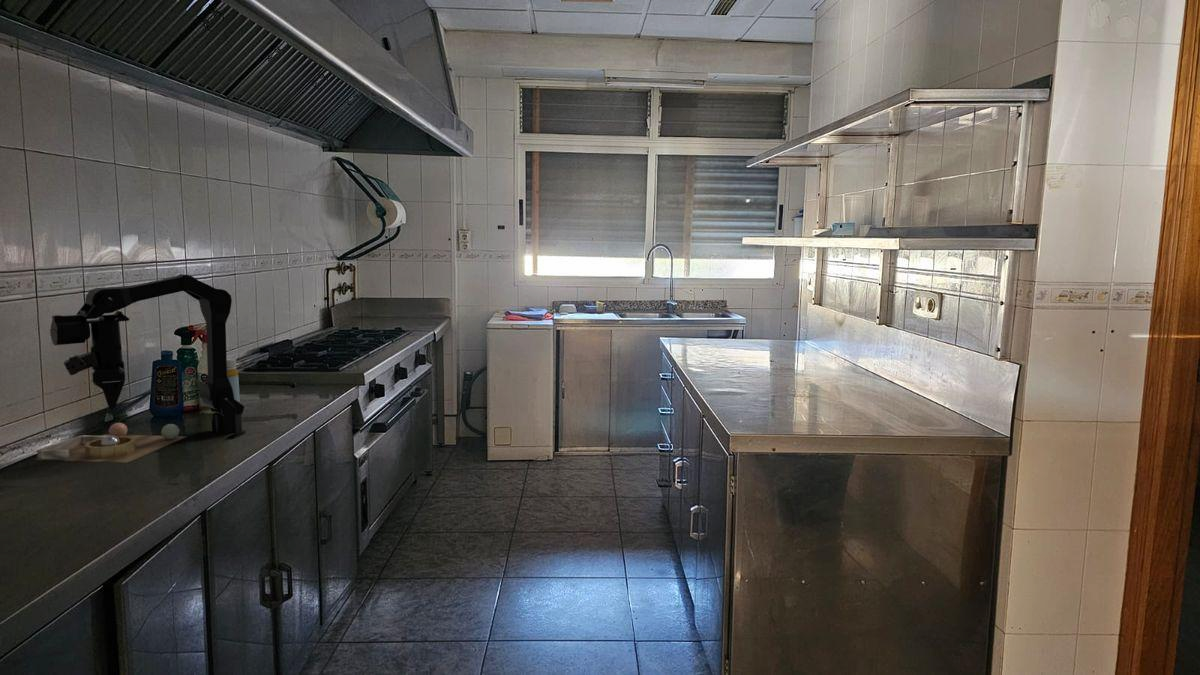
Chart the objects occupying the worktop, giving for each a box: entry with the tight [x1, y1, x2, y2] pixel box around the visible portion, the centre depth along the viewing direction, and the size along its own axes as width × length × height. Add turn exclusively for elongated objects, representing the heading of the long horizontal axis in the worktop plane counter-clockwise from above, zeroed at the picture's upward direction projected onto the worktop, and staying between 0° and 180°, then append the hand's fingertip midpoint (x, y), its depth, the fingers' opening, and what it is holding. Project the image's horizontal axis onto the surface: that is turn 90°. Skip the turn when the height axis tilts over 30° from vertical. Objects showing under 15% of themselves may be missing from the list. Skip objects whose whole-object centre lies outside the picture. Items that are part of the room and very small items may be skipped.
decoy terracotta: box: [108, 422, 128, 437], centre depth 189 cm, size 4×4×4 cm
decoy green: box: [160, 423, 180, 440], centre depth 188 cm, size 4×4×4 cm
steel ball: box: [101, 436, 120, 447], centre depth 177 cm, size 4×4×4 cm
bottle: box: [227, 357, 241, 404], centre depth 231 cm, size 7×7×15 cm
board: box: [34, 433, 188, 463], centre depth 181 cm, size 23×22×3 cm
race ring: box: [85, 436, 136, 458], centre depth 177 cm, size 10×10×2 cm
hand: (112, 405), depth 176 cm, fingers open, 9 cm apart
